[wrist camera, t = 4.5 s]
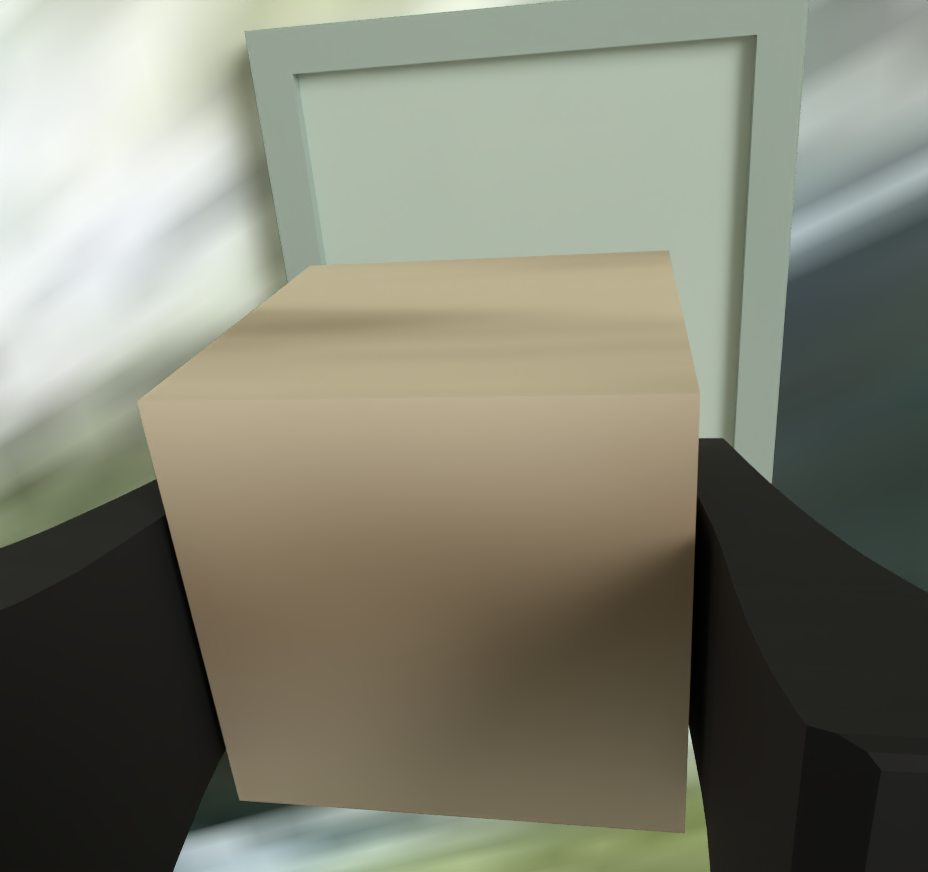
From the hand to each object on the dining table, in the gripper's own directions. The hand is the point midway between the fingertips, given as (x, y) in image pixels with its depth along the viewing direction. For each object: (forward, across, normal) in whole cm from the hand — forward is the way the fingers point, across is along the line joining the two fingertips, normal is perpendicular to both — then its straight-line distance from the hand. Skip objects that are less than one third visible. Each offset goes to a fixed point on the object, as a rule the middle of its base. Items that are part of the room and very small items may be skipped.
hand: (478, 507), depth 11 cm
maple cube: (+2, 0, 0) cm, 2 cm away
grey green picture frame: (+8, 0, 0) cm, 8 cm away
